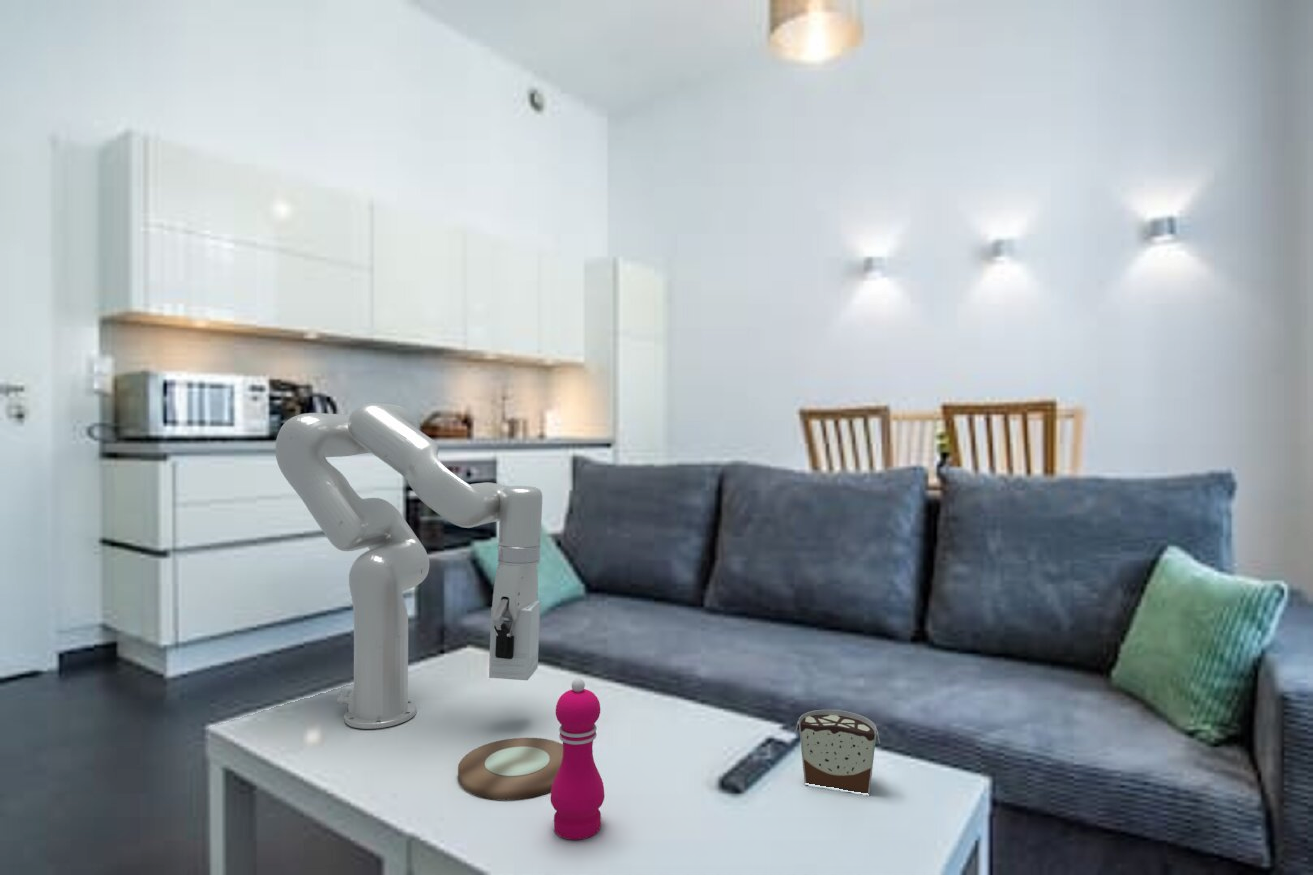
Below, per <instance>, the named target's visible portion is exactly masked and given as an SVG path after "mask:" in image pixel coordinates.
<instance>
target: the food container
mask: <svg viewBox="0 0 1313 875" xmlns="http://www.w3.org/2000/svg"><path fill="white" fill-rule="evenodd" d="M795 727H796V728H795V733H796V732H799V740H800V748H801V749H800V750H801V760H802V768H803V769H802V770H803V779H804V784H805V783H809V784H815V785H820V786H826V787H834V788H839V789H843V790H848V791H854V792H861V793H868V794H869V795H870V792H871V786H872V785H871V782H872V776H873V766H874V758H875V757H874V756H875V749H876V743H877V742H876V741H877V740H878V744H881V740H880V736H879V731H878V729H877V725H876V724H875V723H874V722H873V721H872V720H870V719H869V718H868V717H865V716H863V715H860V714H858V713H854V712H849V711H847V710H846V711H845V710H840V709H839V710H838V709H818V710H812V711H808V712H805V713H803V714H801V716H800V717H798V720H797V721H796V726H795ZM798 730H799V731H798Z"/></svg>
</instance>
